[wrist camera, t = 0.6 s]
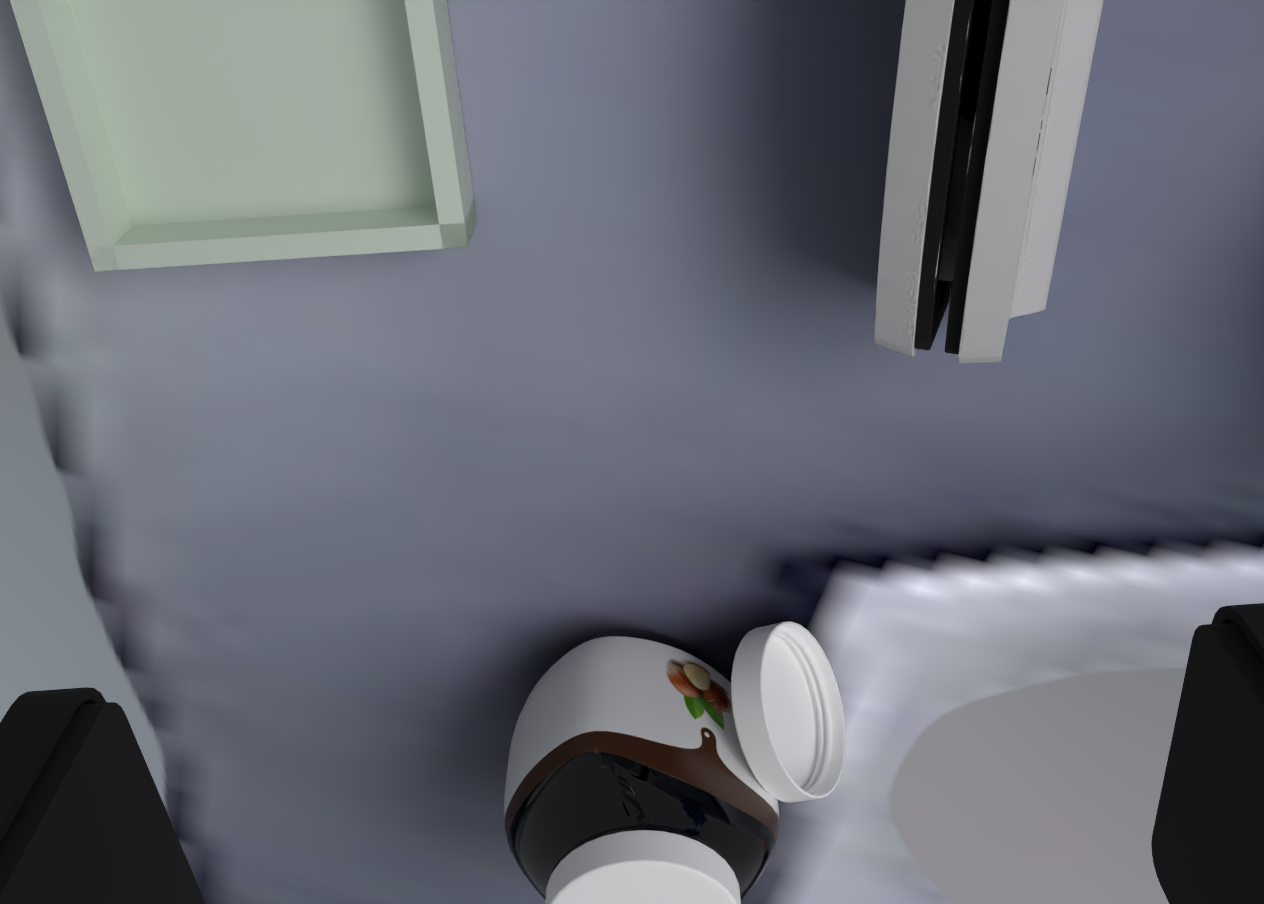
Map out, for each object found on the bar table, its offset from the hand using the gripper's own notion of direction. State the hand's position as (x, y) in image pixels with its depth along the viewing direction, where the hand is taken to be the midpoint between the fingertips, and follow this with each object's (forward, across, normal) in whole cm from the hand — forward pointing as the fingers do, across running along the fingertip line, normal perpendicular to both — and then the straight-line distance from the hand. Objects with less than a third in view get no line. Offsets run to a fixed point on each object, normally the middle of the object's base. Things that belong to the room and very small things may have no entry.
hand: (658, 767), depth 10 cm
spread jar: (+30, 0, +26) cm, 40 cm away
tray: (+30, +12, -2) cm, 33 cm away
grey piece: (+31, -10, +2) cm, 32 cm away
